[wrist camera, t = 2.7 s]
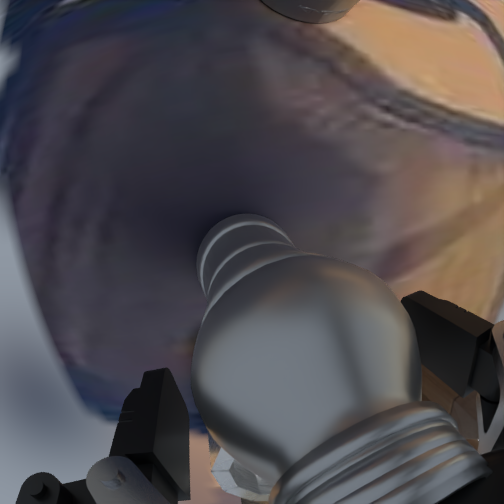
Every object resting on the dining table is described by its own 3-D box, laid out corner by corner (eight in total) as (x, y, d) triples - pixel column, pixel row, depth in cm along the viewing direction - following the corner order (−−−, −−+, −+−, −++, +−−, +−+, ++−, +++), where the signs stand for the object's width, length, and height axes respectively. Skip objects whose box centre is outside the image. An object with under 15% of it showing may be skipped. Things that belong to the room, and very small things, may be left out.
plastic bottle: (207, 307, 22) (244, 605, 3) (188, 219, 20) (81, 524, 1) (290, 290, 23) (473, 514, 4) (278, 202, 21) (591, 304, 2)
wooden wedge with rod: (438, 350, 28) (544, 434, 10) (432, 407, 30) (508, 485, 13) (414, 365, 27) (519, 462, 10) (411, 421, 30) (484, 506, 13)
